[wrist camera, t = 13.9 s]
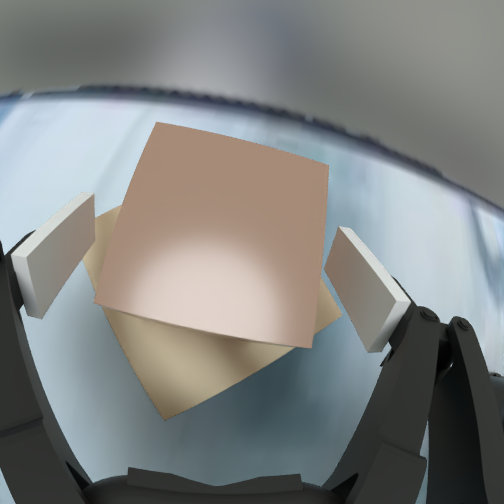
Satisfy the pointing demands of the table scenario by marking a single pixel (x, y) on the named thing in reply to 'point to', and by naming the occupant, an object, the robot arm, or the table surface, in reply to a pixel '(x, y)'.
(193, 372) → the birch box
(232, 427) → the table surface
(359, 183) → the table surface
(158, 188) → the pink square box
